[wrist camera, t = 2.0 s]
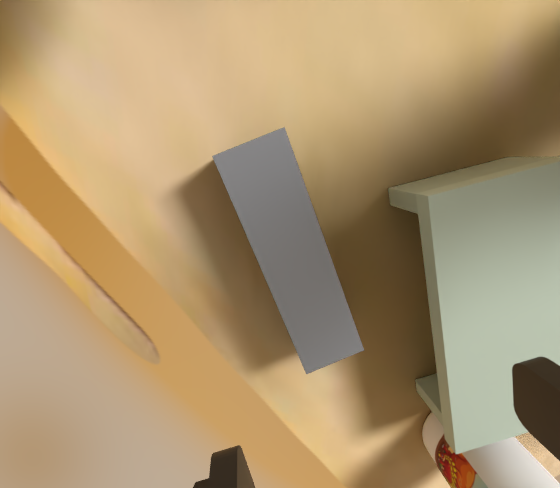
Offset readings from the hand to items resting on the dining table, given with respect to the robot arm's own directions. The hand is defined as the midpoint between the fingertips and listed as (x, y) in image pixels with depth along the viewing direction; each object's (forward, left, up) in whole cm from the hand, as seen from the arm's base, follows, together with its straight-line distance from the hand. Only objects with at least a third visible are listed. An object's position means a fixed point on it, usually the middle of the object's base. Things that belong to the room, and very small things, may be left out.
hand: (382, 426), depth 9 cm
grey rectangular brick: (0, 0, -20) cm, 20 cm away
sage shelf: (-15, +8, -19) cm, 26 cm away
